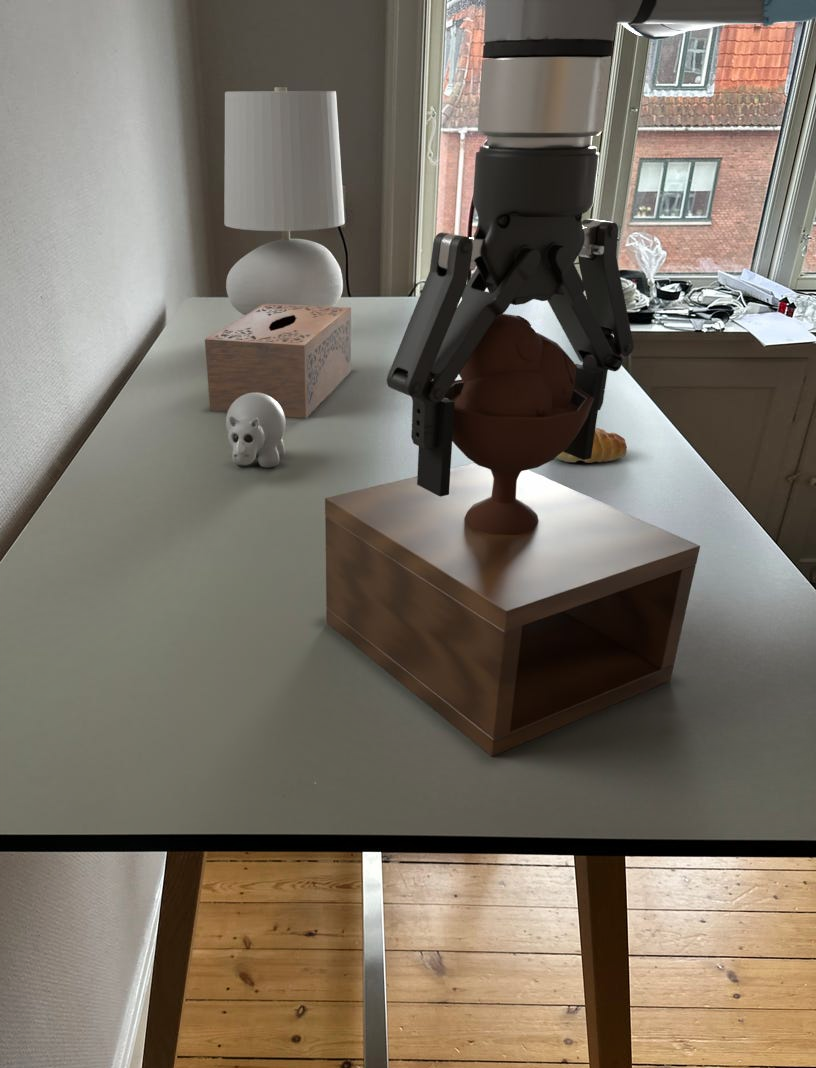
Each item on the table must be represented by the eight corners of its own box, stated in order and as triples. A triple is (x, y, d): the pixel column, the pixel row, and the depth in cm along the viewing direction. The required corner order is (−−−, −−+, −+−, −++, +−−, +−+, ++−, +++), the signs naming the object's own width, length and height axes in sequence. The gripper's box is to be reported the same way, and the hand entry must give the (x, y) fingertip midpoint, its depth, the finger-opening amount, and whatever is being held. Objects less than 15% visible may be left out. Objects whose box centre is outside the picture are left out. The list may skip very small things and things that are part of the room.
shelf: (671, 680, 71) (700, 545, 65) (491, 757, 63) (507, 611, 57) (487, 572, 87) (498, 456, 81) (326, 622, 79) (324, 497, 73)
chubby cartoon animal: (209, 484, 107) (203, 413, 103) (237, 450, 117) (233, 383, 113) (269, 488, 106) (266, 416, 102) (292, 453, 116) (290, 386, 112)
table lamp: (254, 352, 162) (241, 87, 141) (207, 328, 178) (189, 88, 157) (366, 336, 171) (369, 86, 151) (312, 316, 187) (308, 87, 167)
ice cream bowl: (526, 565, 63) (551, 340, 55) (399, 521, 69) (406, 314, 61) (602, 518, 69) (634, 312, 62) (480, 482, 76) (495, 292, 68)
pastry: (615, 446, 118) (620, 417, 116) (633, 465, 112) (638, 434, 110) (543, 447, 118) (547, 418, 116) (557, 466, 112) (561, 436, 110)
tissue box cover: (267, 366, 153) (264, 303, 148) (350, 371, 150) (351, 307, 145) (210, 410, 132) (204, 339, 127) (306, 418, 129) (304, 345, 124)
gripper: (634, 134, 65) (592, 428, 76) (333, 145, 53) (335, 489, 64) (723, 138, 59) (664, 454, 70) (408, 151, 48) (397, 525, 59)
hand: (506, 471), depth 67 cm, fingers open, 13 cm apart
